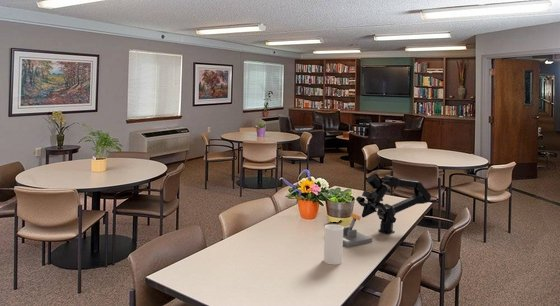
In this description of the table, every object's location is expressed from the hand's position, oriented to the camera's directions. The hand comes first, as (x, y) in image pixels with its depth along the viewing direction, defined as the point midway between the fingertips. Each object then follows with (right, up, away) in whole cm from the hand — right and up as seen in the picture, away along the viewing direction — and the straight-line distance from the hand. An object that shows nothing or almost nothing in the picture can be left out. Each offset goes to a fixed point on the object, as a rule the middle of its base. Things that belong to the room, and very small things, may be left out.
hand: (362, 216), depth 227 cm
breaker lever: (-8, -8, -4) cm, 12 cm away
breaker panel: (-8, -11, -4) cm, 14 cm away
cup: (-20, -15, -33) cm, 42 cm away
